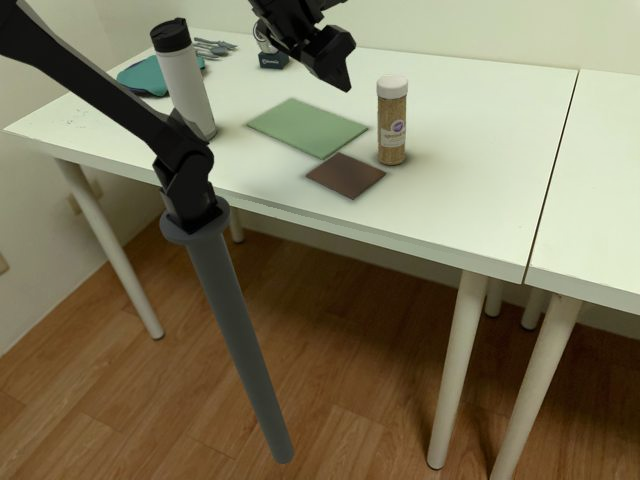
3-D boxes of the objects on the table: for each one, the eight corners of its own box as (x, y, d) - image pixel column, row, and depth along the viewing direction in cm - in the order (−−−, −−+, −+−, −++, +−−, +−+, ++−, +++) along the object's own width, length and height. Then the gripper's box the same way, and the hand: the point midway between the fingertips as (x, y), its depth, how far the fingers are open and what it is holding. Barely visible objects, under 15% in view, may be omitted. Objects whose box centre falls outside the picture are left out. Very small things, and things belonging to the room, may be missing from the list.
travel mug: (225, 128, 89) (195, 18, 75) (201, 146, 85) (166, 33, 71) (201, 122, 92) (168, 15, 78) (177, 139, 88) (139, 29, 74)
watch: (256, 71, 107) (246, 21, 99) (271, 57, 112) (263, 8, 104) (278, 73, 105) (270, 22, 97) (292, 58, 110) (285, 8, 103)
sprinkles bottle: (390, 169, 74) (390, 89, 65) (371, 157, 77) (369, 79, 68) (411, 158, 76) (415, 79, 67) (392, 147, 79) (393, 69, 70)
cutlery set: (102, 89, 108) (98, 79, 106) (193, 41, 125) (190, 32, 123) (160, 105, 99) (156, 95, 97) (250, 51, 116) (248, 41, 114)
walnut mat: (353, 199, 70) (352, 197, 69) (305, 176, 75) (305, 174, 75) (386, 174, 73) (386, 172, 73) (338, 153, 79) (338, 151, 79)
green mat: (322, 160, 78) (322, 158, 78) (246, 125, 89) (246, 123, 89) (368, 128, 84) (368, 126, 84) (291, 100, 95) (291, 98, 95)
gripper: (358, -47, 50) (411, 59, 62) (284, -69, 63) (340, 22, 74) (284, 29, 51) (350, 119, 63) (226, -8, 64) (290, 73, 75)
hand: (332, 79), depth 69 cm, fingers open, 9 cm apart
